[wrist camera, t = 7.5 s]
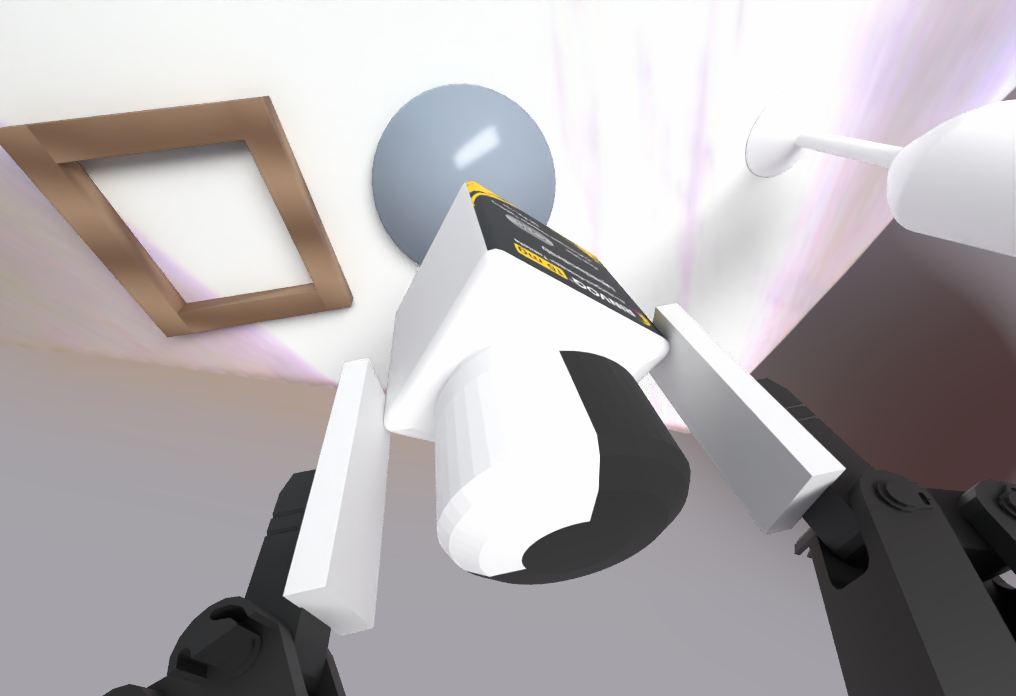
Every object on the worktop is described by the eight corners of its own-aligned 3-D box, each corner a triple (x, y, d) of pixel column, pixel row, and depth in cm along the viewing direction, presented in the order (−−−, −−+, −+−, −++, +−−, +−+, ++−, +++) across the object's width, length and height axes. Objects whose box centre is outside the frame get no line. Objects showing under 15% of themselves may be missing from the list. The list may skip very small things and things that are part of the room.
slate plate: (344, 96, 24) (342, 97, 23) (552, 72, 25) (555, 72, 24) (402, 285, 33) (401, 289, 32) (553, 260, 34) (555, 264, 33)
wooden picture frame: (10, 126, 22) (-13, 129, 21) (269, 95, 23) (260, 98, 22) (176, 327, 31) (167, 337, 30) (353, 298, 33) (350, 306, 31)
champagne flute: (769, 192, 33) (1196, 358, 15) (730, 149, 30) (1207, 291, 12) (839, 119, 30) (1480, 216, 12) (803, 63, 27) (1594, 75, 9)
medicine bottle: (598, 256, 17) (797, 487, 8) (516, 361, 20) (591, 611, 11) (465, 174, 14) (543, 401, 5) (393, 314, 17) (356, 611, 8)
